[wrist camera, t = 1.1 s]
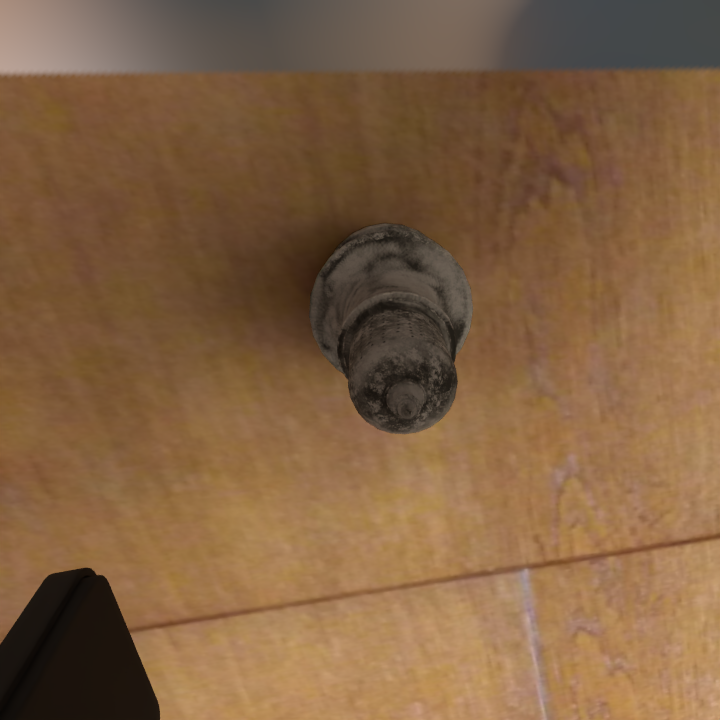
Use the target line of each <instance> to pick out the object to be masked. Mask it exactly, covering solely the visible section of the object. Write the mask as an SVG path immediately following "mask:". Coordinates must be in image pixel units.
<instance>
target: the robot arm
mask: <svg viewBox="0 0 720 720" xmlns="http://www.w3.org/2000/svg"><path fill="white" fill-rule="evenodd" d="M0 720H160V710H159V704H158V701H157V698H156V696H155V694H154V691H153V689H152V686H151V684H150V681H149V679H148V677H147V674H146V672H145V669H144V667H143V665H142V662H141V660H140V657H139V655H138V652H137V650H136V648H135V645H134V643H133V640H132V638H131V635H130V633H129V631H128V628H127V626H126V623H125V621H124V619H123V616H122V614H121V611H120V609H119V606H118V604H117V602H116V599H115V597H114V594H113V592H112V590H111V587H110V585H109V582H108V581H107V579H106V578H105V577H104V576H102V575H96V573H95V572H94V571H93V570H92V569H91V568H81V569H76V570H70V571H64V572H59V573H53V574H51V575H49V576H48V577H47V578H46V579H45V580H44V581H43V583H42V584H41V586H40V587H39V588H38V590H37V591H36V593H35V594H34V596H33V597H32V599H31V600H30V602H29V603H28V605H27V606H26V608H25V609H24V611H23V612H22V614H21V615H20V616H19V618H18V619H17V621H16V622H15V624H14V625H13V627H12V628H11V630H10V631H9V633H8V634H7V636H6V637H5V639H4V640H3V642H2V643H1V645H0Z"/></svg>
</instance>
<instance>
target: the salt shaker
mask: <svg viewBox="0 0 720 720" xmlns="http://www.w3.org/2000/svg"><path fill="white" fill-rule="evenodd" d="M472 313H473V305H472V296H471V288H470V286H469V284H468V281H467V279H466V276H465V274H464V271H463V269H462V268H461V267H460V265H459V264H458V263H457V262H456V260H455V259H454V258H453V256H452V255H451V254H450V253H449V252H448V251H447V250H446V249H444V248H443V247H441V246H440V245H439V244H437V243H436V242H434V241H433V240H432V239H429V238H428V237H426V236H425V235H424V234H422V233H421V232H419V231H418V230H415V229H412V228H410V227H407V226H404V225H399V224H388V223H383V224H378V225H372V226H367V227H365V228H363V229H361V230H359V231H357V232H355V233H352V234H351V235H350V236H349V237H348V238H346V239H345V240H344V241H343V242H342V243H340V244H339V245H338V247H337V248H336V250H335V251H334V253H333V254H332V256H330V257H329V259H328V260H327V262H326V263H325V265H324V266H323V268H322V269H321V270H320V272H319V273H318V275H317V278H316V281H315V284H314V286H313V289H312V292H311V295H310V310H309V318H310V322H311V327H312V332H313V336H314V338H315V340H316V342H317V344H318V346H319V348H320V350H321V352H322V354H323V355H324V356H325V357H326V358H327V359H328V360H329V361H330V363H331V364H332V365H333V366H334V367H335V368H336V369H337V370H339V371H340V372H342V373H343V374H345V376H346V378H347V379H348V388H349V393H350V398H351V400H352V402H353V404H354V406H355V408H356V410H357V411H358V413H359V414H360V415H361V416H362V417H363V418H364V419H365V420H366V422H368V423H369V424H371V425H372V426H374V427H376V428H377V429H379V430H382V431H386V432H389V433H395V434H409V433H416V432H419V431H422V430H424V429H427V428H429V427H431V426H433V425H434V424H435V423H437V422H438V421H440V420H441V419H442V418H443V417H444V415H445V414H446V413H447V412H448V411H449V410H450V407H451V405H452V403H453V401H454V399H455V394H456V388H457V382H458V381H457V374H456V368H455V365H454V361H455V357H456V354H457V353H458V352H459V351H460V350H461V348H462V346H463V344H464V341H465V339H466V337H467V335H468V333H469V330H470V325H471V319H472Z"/></svg>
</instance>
